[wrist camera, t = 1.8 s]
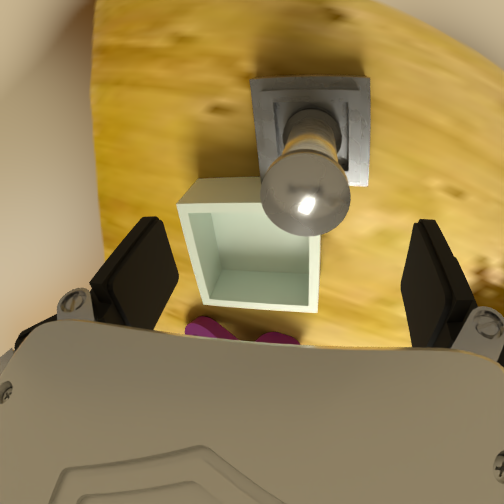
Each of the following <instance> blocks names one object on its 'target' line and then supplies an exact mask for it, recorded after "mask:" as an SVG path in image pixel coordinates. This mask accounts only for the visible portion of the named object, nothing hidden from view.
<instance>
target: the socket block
mask: <svg viewBox="0 0 504 504" xmlns="http://www.w3.org/2000/svg"><path fill="white" fill-rule="evenodd" d="M250 87H251V96H252V105H253V113H254V122H255V132H256V141H257V150H258V159H259V169H260V179H261V185H262V182H263V179H264V177H265V175H266V173H267V170H268V169H269V167H270V165H271V164H272V163H273V162H274V161H275V160H276V159H277V158H278V157H280V156H281V155H282V153H283V150H284V144H283V139H282V135H283V129H284V127H285V124H286V122H287V120H288V119H289V117H290V116H291V115H292V113H294V112H295V111H296V110H298V109H300V108H302V107H306V106H317V107H321V108H324V109H326V110H327V111H329V112H330V113H331V114H333V116H334V117H335V118H336V119H337V121H338V123H339V126H340V130H341V134H342V144H341V148H340V150H339V152H338V154H337V158H338V163H339V165H340V166H341V167H342V169H343V170H344V172H345V174H346V176H347V179H348V183H349V186H368V178H369V158H370V78H369V77H367V76H360V75H330V74H310V75H279V76H263V77H255V78H252V79H250Z"/></svg>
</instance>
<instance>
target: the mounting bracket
mask: <svg viewBox="0 0 504 504" xmlns="http://www.w3.org/2000/svg"><path fill="white" fill-rule="evenodd" d="M185 335H193V336H202V337H211V338H220V339H230V340H238V339H237V338H236V337H235V336H233V335H232V334H231V333H230V332H228V331H227V330H226V329H225V328H224V327H222V326H221V325H220V324H219V323H217V322H216V321H214V320H213V319H211V318H208V317H205V316H200V317H197V318H196V319H195V320H193V321H192V322H191V323H189V324H188V325H187V326H186V328H185ZM255 342H264V343H278V344H294V345H300V343H299V342H298V341H297V340H296V339H294V338H293V337H291V336H288V335H285V334H281V333H278V332H269V333H266V334H263V335H262V336H260V337H259V338H258V339H257V340H256V341H255Z"/></svg>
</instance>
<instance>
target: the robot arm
mask: <svg viewBox="0 0 504 504" xmlns="http://www.w3.org/2000/svg"><path fill="white" fill-rule="evenodd" d="M178 279H179V274H178V270H177V267H176V264H175V261H174V257H173V254H172V251H171V248H170V244H169V241H168V238H167V234H166V231H165V228H164V224H163V222H162V221H161V220H159V218H158V217H142V218H141V219H140V221H139V222H138V223H137V224H136V225H135V226H134V228H133V229H132V230H131V231H130V232H129V233H128V235H127V236H126V237H125V238H124V239H123V241H122V242H121V243H120V244H119V245H118V247H117V248H116V249H115V250H114V252H113V253H112V254H111V255H110V257H109V258H108V259H107V260H106V262H105V263H104V264H103V265H102V267H101V268H100V269H99V271H98V272H97V273H96V274H95V276H94V277H93V278H92V280H91V281H90V282H89V283H90V285H91V287H92V289H91V291H90V292H89V290H87V289H85V288H76V289H73V290H71V291H69V292H68V293H66V294H65V295H64V296H63V297H62V298H61V299H60V301H59V303H58V306H57V314H56V315H54V316H52V317H50V318H48V319H46V320H44V321H42V322H40V323H38V324H36V325H34V326H32V327H30V328H28V329H26V330H24V331H22V332H21V333H20V335H19V337H18V339H17V340H16V343H15V350H13V349H12V348H11V349H10V350H9V351H7V352H6V353H5V354H4V355H2V356H1V357H0V504H504V318H503V317H502V315H501V314H500V313H498V312H497V311H496V310H494V309H492V308H489V307H478V306H477V303H476V301H475V299H474V296H473V294H472V291H471V289H470V287H469V284H468V282H467V280H466V278H465V275H464V273H463V271H462V269H461V267H460V265H459V262H458V260H457V259H456V257H454V256H453V254H452V252H451V250H450V248H449V246H448V244H447V242H446V240H445V238H444V236H443V234H442V232H441V230H440V228H439V226H438V224H437V223H436V221H435V220H428V219H420V220H419V222H418V223H414V225H413V230H412V235H411V240H410V245H409V250H408V254H407V259H406V263H405V267H404V271H403V276H402V280H401V293H402V297H403V302H404V306H405V311H406V316H407V321H408V326H409V331H410V337H411V343H412V347H338V346H313V345H294V344H278V343H264V342H252V341H240V340H230V339H220V338H211V337H202V336H193V335H185V334H177V333H170V332H162V331H155V330H153V329H154V327H155V325H156V323H157V321H158V319H159V317H160V315H161V313H162V311H163V309H164V308H165V306H166V304H167V302H168V300H169V298H170V296H171V294H172V292H173V290H174V288H175V286H176V284H177V283H178Z"/></svg>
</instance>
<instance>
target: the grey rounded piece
mask: <svg viewBox="0 0 504 504" xmlns="http://www.w3.org/2000/svg"><path fill="white" fill-rule="evenodd" d="M282 139H283V144H284V150H283V153H282V155H281V156H280V157H278V158H277V159H276V160H275V161H274V162H273V163H272V164H271V165H270V167H269V169H268V170H267V173H266V175H265V177H264V179H263V182H262V185H261V190H260V199H261V204H262V207H263V209H264V211H265V213H266V215H267V216H268V218H269V219H270V220H271V221H272V222H273V223H274V224H275V225H276V226H277V227H279V228H280V229H282V230H283V231H285V232H288V233H290V234H293V235H297V236H305V237H308V236H318V235H321V234H324V233H327V232H329V231H331V230H332V229H334V228H335V227H337V226H338V225H339V224H340V223H341V222H342V220H343V219H344V218H345V216H346V214H347V212H348V210H349V206H350V189H349V183H348V179H347V176H346V174H345V172H344V170H343V169H342V167H341V166H340V165H339V163H338V158H337V154H338V152H339V150H340V148H341V144H342V134H341V130H340V126H339V123H338V121H337V119H336V118H335V117H334V116H333V114H331V113H330V112H329V111H327V110H326V109H324V108H321V107H317V106H306V107H302V108H300V109H298V110H296V111H295V112H294V113H292V115H291V116H290V117H289V119H288V120H287V122H286V124H285V127H284V129H283V135H282Z"/></svg>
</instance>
